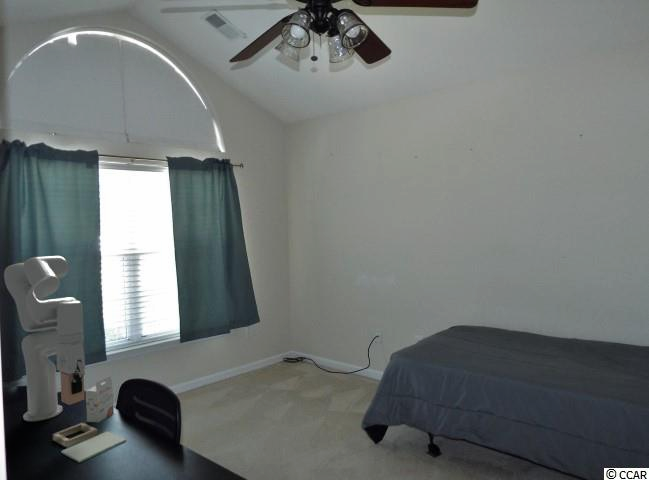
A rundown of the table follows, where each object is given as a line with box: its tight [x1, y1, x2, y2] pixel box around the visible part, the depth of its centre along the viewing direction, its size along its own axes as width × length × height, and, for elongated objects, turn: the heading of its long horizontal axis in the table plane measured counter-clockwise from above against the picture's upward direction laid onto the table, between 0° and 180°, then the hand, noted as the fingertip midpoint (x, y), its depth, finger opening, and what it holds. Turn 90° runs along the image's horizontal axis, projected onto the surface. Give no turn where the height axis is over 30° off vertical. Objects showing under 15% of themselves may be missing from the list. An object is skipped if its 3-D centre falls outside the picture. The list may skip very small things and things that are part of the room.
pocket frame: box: [52, 422, 99, 449], centre depth 145 cm, size 10×10×2 cm
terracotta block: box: [59, 370, 85, 406], centre depth 145 cm, size 5×5×10 cm
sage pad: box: [61, 430, 127, 463], centre depth 138 cm, size 11×15×1 cm
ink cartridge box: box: [84, 375, 115, 423], centre depth 160 cm, size 9×5×15 cm, turn 168°
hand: (72, 390), depth 145 cm, fingers closed on terracotta block, 5 cm apart
